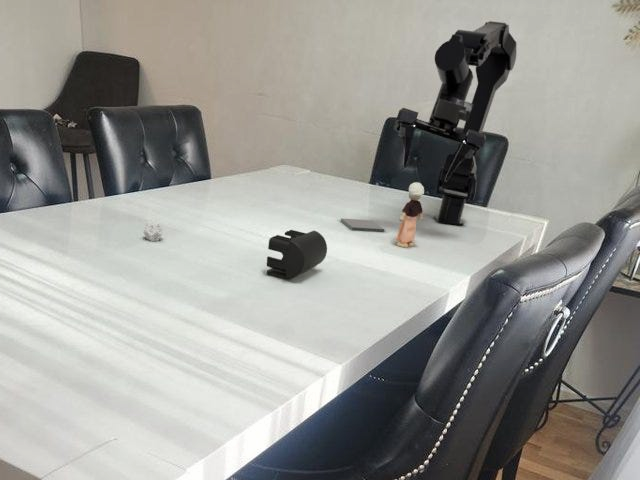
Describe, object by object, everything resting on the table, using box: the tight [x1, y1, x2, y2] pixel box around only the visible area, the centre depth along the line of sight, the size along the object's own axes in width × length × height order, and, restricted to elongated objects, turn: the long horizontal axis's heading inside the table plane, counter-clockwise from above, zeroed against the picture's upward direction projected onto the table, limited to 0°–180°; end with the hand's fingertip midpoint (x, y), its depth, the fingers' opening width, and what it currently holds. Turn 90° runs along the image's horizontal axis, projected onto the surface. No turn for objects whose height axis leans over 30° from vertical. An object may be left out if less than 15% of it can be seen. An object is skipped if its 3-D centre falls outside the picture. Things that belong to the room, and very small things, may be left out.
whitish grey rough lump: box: [143, 221, 164, 242], centre depth 121 cm, size 4×4×3 cm
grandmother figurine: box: [395, 181, 425, 248], centre depth 137 cm, size 8×4×13 cm, turn 144°
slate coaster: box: [340, 218, 386, 233], centre depth 151 cm, size 8×8×1 cm
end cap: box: [266, 229, 328, 281], centre depth 113 cm, size 10×7×7 cm
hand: (424, 174), depth 136 cm, fingers open, 9 cm apart
